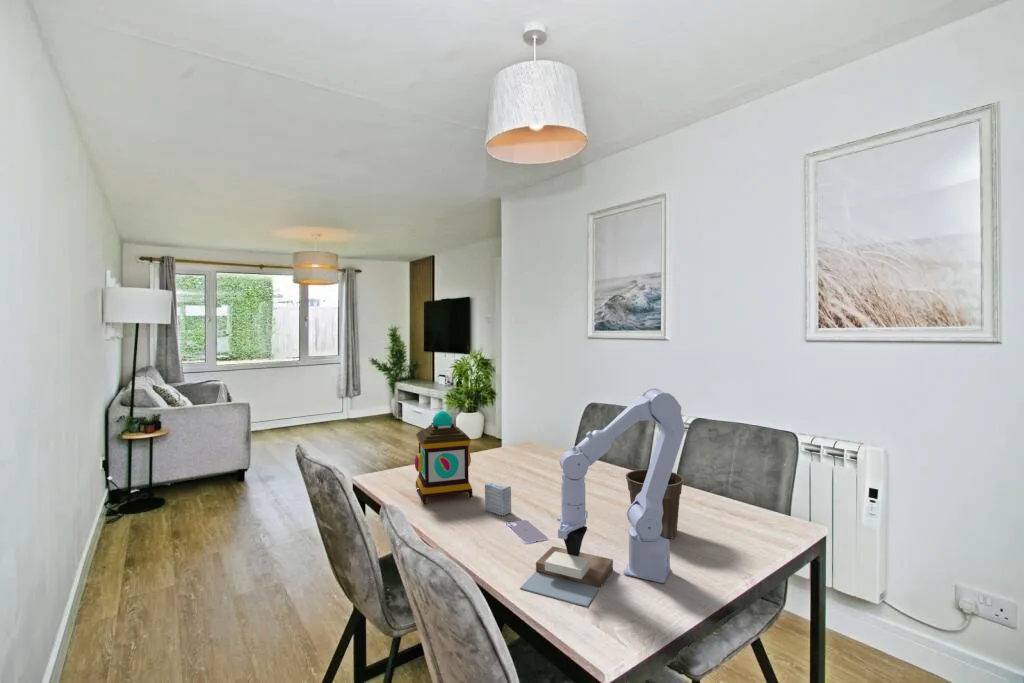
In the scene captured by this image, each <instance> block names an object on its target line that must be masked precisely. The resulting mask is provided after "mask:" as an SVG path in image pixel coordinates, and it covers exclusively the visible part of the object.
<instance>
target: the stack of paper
mask: <svg viewBox="0 0 1024 683" xmlns="http://www.w3.org/2000/svg"><path fill="white" fill-rule="evenodd" d="M484 510H485V511H486V510H488V511H487V512H489V511H491V512H490V513H492V512H494V513H493V514H495V513H496V514H495V515H498V514H499V515H498V516H501V515H502V516H501V517H503V515H504V516H506V514H507V515H508V513H509V514H511V513H512V487H511V486H510V485H508V484H503V483H500V482H496V481H492V482H489V483H486V484H485V485H484ZM510 512H511V513H510Z"/></svg>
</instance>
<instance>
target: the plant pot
mask: <svg viewBox="0 0 1024 683" xmlns="http://www.w3.org/2000/svg"><path fill="white" fill-rule="evenodd" d="M648 469H649V468H647V469H646V468H644V469H643V468H642V469H635V470H631V471H628V472H627V473H626V474H625V475H624V476H625V479H626V481H627V487H628V488H627V489H628V492H629V497H630V498H629V499H630V505H631V504H632V503H633V502H634V500H635V498H636V495H637V494H639V493H640V492H641V490H642V487H643V484H644V481H645V478H646V475H647V472H648ZM684 481H685V478H684V477H683V476H682V475H681V474H679V473H676V472H673V471H672V473H671V476H670V479H669V482H668V485H667V488H666V491H665V494H664V497H663V500H662V505H663V516H662V533H661V535H660V536H661V537H663V538H665V539H668V540H670V539H673V538H675V537H676V535H677V534H678V522H679V512H680V511H679V509H680V496H681V494H682V490H683V489H682V488H683V483H684Z"/></svg>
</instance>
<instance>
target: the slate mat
mask: <svg viewBox="0 0 1024 683" xmlns="http://www.w3.org/2000/svg"><path fill="white" fill-rule="evenodd" d="M519 589H520V590H523V591H527V592H530V593H534V594H537V595H541V596H544V597H547V598H552V599H556V600H560V601H562V600H563V601H564V602H566V603H570V604H575V605H578V606H580V607H584V608H588V607H589V606H590V604H591V602H592V601H593V600H594V598H595V596H597V593H598V592H599V590H600V589H601V588H598V587H594V586H590V585H586V584H582V583H578V582H574V581H570V580H566V579H562V578H558V577H554V576H550V575H546V574H542V573H538V572H536V571H535V572H534V573H533V574H532V575H531V576H530V577H528V579H527V580H526V581H525V582H524V583H523V584H521V586H520V587H519Z"/></svg>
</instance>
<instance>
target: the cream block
mask: <svg viewBox="0 0 1024 683" xmlns="http://www.w3.org/2000/svg"><path fill="white" fill-rule="evenodd" d="M589 568H590V559H587V558H582V557H578V556H574V555H569V554H565V553H560V552H556V551H555V552H554V553H553V554H552V555H551V556H550V557H549V558H548V559H547V560H546V561H545V570H546V571H550V572H554V573H558V574H562V575H566V576H570V577H574V578H579V579H582V578H583V576H584V575H585V574H586V572H587V571H588V570H589Z"/></svg>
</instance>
